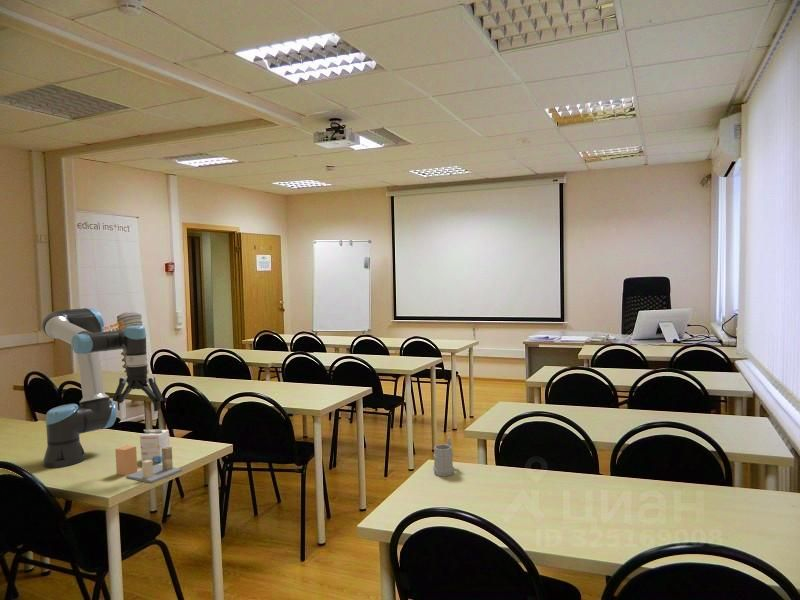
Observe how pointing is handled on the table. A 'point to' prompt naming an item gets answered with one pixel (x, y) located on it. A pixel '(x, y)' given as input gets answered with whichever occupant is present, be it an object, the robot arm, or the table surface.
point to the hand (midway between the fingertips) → (138, 419)
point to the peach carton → (126, 460)
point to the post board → (155, 474)
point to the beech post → (167, 458)
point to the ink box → (153, 444)
